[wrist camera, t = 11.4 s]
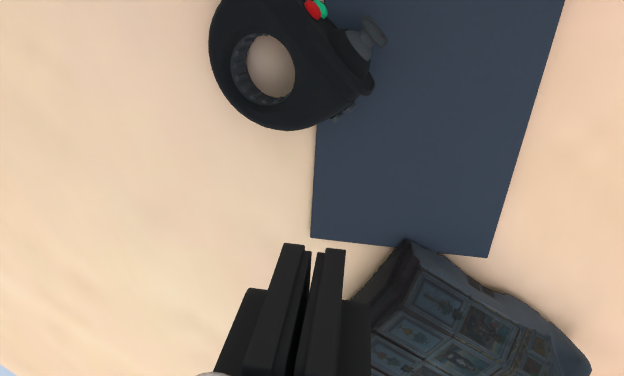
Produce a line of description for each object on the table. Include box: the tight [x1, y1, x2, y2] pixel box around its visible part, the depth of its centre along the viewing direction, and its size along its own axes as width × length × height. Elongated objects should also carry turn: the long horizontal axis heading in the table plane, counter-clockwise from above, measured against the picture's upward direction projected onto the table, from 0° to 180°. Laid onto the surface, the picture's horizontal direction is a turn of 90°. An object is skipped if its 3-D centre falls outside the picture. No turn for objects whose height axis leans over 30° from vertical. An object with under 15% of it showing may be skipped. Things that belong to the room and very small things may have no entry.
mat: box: [310, 0, 565, 258], centre depth 27 cm, size 21×14×1 cm, turn 177°
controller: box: [208, 0, 388, 131], centre depth 24 cm, size 4×12×10 cm
